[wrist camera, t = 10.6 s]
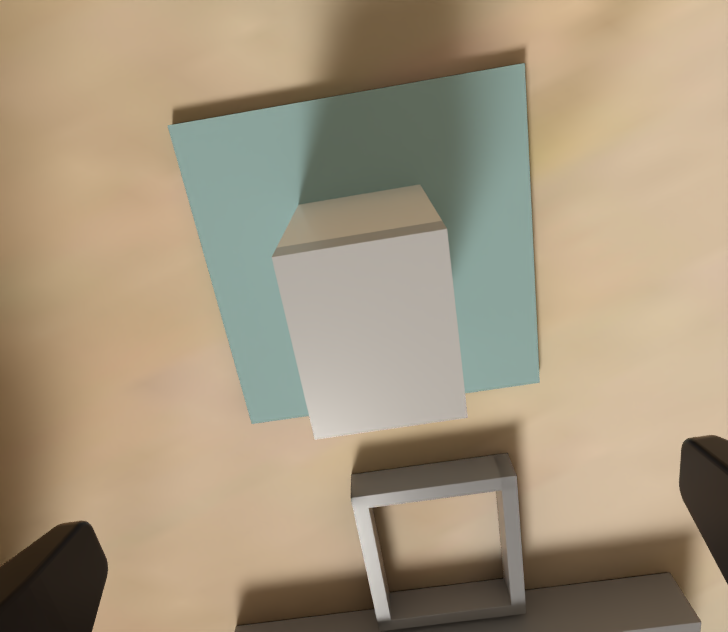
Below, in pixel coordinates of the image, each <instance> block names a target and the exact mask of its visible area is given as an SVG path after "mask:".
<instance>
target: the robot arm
mask: <svg viewBox="0 0 728 632" xmlns="http://www.w3.org/2000/svg"><path fill="white" fill-rule="evenodd" d="M679 487H680V492H681V496H682V499H683V501H684V503H685V505H686V507H687V508H688V510H689V512H690V514H691V516H692V518H693V520H694V522H695V524H696V525H697V527H698V529H699V531H700V533H701V535H702V537H703V539H704V541H705V542H706V544H707V546H708V548H709V550H710V552H711V554H712V556H713V558H714V559H715V561H716V563H717V565H718V567H719V569H720V571H721V573H722V575H723V576H724V578H725V580H726V582H727V584H728V440H726V439H723V438H721V437H718V436H715V435H707V436H700V437H693V438H688V439H686V440H685V441H684V442H683V444H682V448H681V462H680V477H679ZM107 573H108V564H107V559H106V556H105V554H104V552H103V550H102V547H101V545H100V543H99V541H98V538H97V536H96V534H95V532H94V530H93V527H92V526H91V524H89V523H88V522H87V521H76V522H68V523H62V524H59V525H57V526H56V527H54V528H53V529H51V530H50V531H49V532H47V533H46V534H45V535H43V536H42V537H41V538H39V539H38V540H36V541H35V542H34V543H32V544H31V545H30V546H28V547H27V548H26V549H24V550H23V551H21V552H20V553H19V554H17V555H16V556H15V557H13V558H12V559H11V560H9V561H8V562H6V563H5V564H4V565H2V566H1V567H0V632H92V629H93V626H94V622H95V618H96V615H97V611H98V607H99V604H100V600H101V596H102V593H103V589H104V586H105V582H106V578H107Z"/></svg>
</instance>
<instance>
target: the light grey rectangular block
mask: <svg viewBox="0 0 728 632" xmlns="http://www.w3.org/2000/svg"><path fill="white" fill-rule="evenodd" d="M272 261H273V265H274V270H275V274H276V278H277V282H278V287H279V291H280V295H281V299H282V303H283V308H284V312H285V316H286V320H287V325H288V329H289V333H290V337H291V341H292V346H293V350H294V354H295V358H296V363H297V367H298V371H299V375H300V379H301V384H302V388H303V392H304V396H305V401H306V405H307V409H308V413H309V417H310V422H311V426H312V430H313V434H314V438H315V440H316V439H323V438H330V437H337V436H343V435H350V434H357V433H364V432H371V431H378V430H385V429H392V428H399V427H406V426H413V425H420V424H427V423H434V422H441V421H448V420H455V419H462V418H468V416H467V407H466V398H465V388H464V379H463V370H462V361H461V352H460V343H459V333H458V324H457V315H456V306H455V297H454V288H453V278H452V269H451V260H450V251H449V242H448V232H447V228H446V226H445V225H444V223H443V221H442V220H441V218H440V216H439V215H438V213H437V211H436V210H435V208H434V207H433V205H432V203H431V202H430V200H429V198H428V197H427V195H426V193H425V192H424V190H423V188H422V187H421V185H420V184H419V185H413V186H407V187H402V188H396V189H390V190H384V191H378V192H372V193H366V194H360V195H354V196H348V197H342V198H336V199H330V200H324V201H318V202H312V203H306V204H300V205H298V206H297V208H296V210H295V212H294V214H293V216H292V218H291V220H290V222H289V224H288V226H287V228H286V230H285V232H284V234H283V236H282V238H281V240H280V242H279V244H278V246H277V248H276V250H275V252H274V254H273V255H272Z"/></svg>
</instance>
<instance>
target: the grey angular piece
mask: <svg viewBox="0 0 728 632" xmlns="http://www.w3.org/2000/svg"><path fill="white" fill-rule="evenodd" d="M493 491H496V498H497V509H498V520H499V531H500V543H501V554H502V565H503V576H504V578H503V579H495V580H487V581H479V582H471V583H463V584H455V585H447V586H439V587H431V588H423V589H415V590H407V591H399V592H391V593H389V588H388V583H387V578H386V573H385V568H384V563H383V558H382V553H381V548H380V542H379V537H378V532H377V527H376V522H375V517H374V512H373V507H380V506H388V505H395V504H403V503H410V502H418V501H425V500H433V499H440V498H448V497H455V496H463V495H470V494H478V493H485V492H493ZM351 502H352V506H353V511H354V515H355V520H356V525H357V529H358V534H359V539H360V543H361V548H362V553H363V557H364V562H365V567H366V571H367V576H368V581H369V585H370V590H371V595H372V599H373V604H374V609H371V610H363V611H355V612H347V613H338V614H330V615H322V616H314V617H306V618H298V619H290V620H282V621H274V622H266V623H258V624H250V625H241V626H236V628H235V632H700V631H701V621H700V619H699V618H698V616H697V614H696V613H695V611H694V610H693V608H692V607H691V605H690V603H689V602H688V600H687V599H686V597H685V596H684V594H683V592H682V591H681V589H680V588H679V586H678V585H677V583H676V581H675V580H674V578H673V577H672V575H671V574H670V573H662V574H654V575H646V576H638V577H629V578H621V579H613V580H605V581H597V582H589V583H581V584H573V585H565V586H557V587H549V588H541V589H532V590H525V588H524V573H523V559H522V545H521V531H520V516H519V502H518V488H517V475H516V473H515V470H514V468H513V465H512V463H511V460H510V458H509V455H508V453H505V454H498V455H491V456H483V457H476V458H469V459H461V460H454V461H447V462H440V463H432V464H425V465H418V466H410V467H403V468H396V469H389V470H381V471H374V472H367V473H359V474H352V475H351Z"/></svg>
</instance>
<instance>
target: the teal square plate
mask: <svg viewBox="0 0 728 632" xmlns="http://www.w3.org/2000/svg"><path fill="white" fill-rule="evenodd" d="M168 129H169V132H170V136H171V140H172V143H173V147H174V150H175V154H176V157H177V161H178V164H179V168H180V171H181V175H182V178H183V182H184V186H185V189H186V193H187V196H188V200H189V203H190V207H191V210H192V214H193V217H194V221H195V225H196V228H197V232H198V235H199V239H200V242H201V246H202V249H203V253H204V256H205V260H206V263H207V267H208V271H209V274H210V278H211V281H212V285H213V288H214V292H215V295H216V299H217V302H218V306H219V309H220V313H221V317H222V320H223V324H224V327H225V331H226V334H227V338H228V341H229V345H230V348H231V352H232V356H233V359H234V363H235V366H236V370H237V373H238V377H239V380H240V384H241V387H242V391H243V394H244V398H245V402H246V405H247V409H248V412H249V416H250V419H251V423H252V424H255V423H262V422H269V421H276V420H283V419H290V418H297V417H304V416H309V413H308V409H307V405H306V401H305V396H304V392H303V388H302V384H301V379H300V375H299V371H298V367H297V363H296V358H295V354H294V350H293V346H292V341H291V337H290V333H289V329H288V325H287V320H286V316H285V312H284V308H283V303H282V299H281V295H280V291H279V287H278V282H277V278H276V274H275V270H274V265H273V261H272V255H273V254H274V252H275V250H276V248H277V246H278V244H279V242H280V240H281V238H282V236H283V234H284V232H285V230H286V228H287V226H288V224H289V222H290V220H291V218H292V216H293V214H294V212H295V210H296V208H297V206H298V205H300V204H306V203H312V202H318V201H324V200H330V199H336V198H342V197H348V196H354V195H360V194H366V193H372V192H378V191H384V190H390V189H396V188H402V187H407V186H413V185H419V184H420V185H421V187H422V188H423V190H424V192H425V193H426V195H427V197H428V198H429V200H430V202H431V203H432V205H433V207H434V208H435V210H436V211H437V213H438V215H439V216H440V218H441V220H442V221H443V223H444V225H445V226H446V228H447V232H448V242H449V251H450V260H451V269H452V278H453V288H454V297H455V306H456V315H457V324H458V333H459V343H460V352H461V361H462V370H463V379H464V388H465V393H471V392H478V391H484V390H491V389H498V388H505V387H512V386H519V385H526V384H533V383H540V380H539V359H538V338H537V316H536V295H535V274H534V252H533V231H532V210H531V188H530V167H529V145H528V124H527V103H526V81H525V63H522V64H516V65H510V66H504V67H499V68H493V69H487V70H482V71H476V72H470V73H464V74H459V75H453V76H447V77H442V78H436V79H430V80H424V81H419V82H413V83H407V84H402V85H396V86H390V87H384V88H379V89H373V90H367V91H362V92H356V93H350V94H345V95H339V96H333V97H327V98H322V99H316V100H310V101H305V102H299V103H293V104H287V105H282V106H276V107H270V108H265V109H259V110H253V111H247V112H242V113H236V114H230V115H225V116H219V117H213V118H207V119H202V120H196V121H190V122H185V123H179V124H173V125H168Z"/></svg>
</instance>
